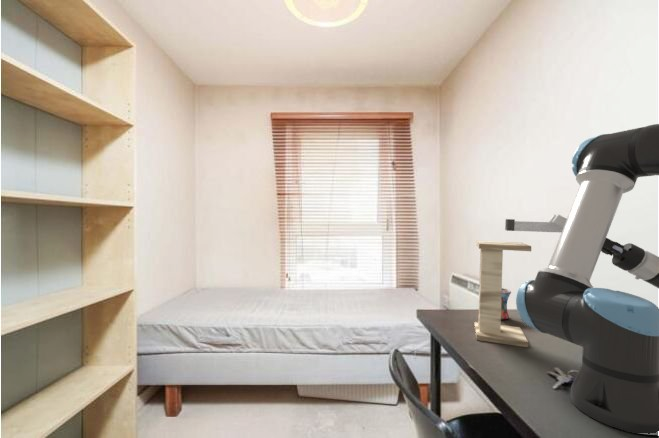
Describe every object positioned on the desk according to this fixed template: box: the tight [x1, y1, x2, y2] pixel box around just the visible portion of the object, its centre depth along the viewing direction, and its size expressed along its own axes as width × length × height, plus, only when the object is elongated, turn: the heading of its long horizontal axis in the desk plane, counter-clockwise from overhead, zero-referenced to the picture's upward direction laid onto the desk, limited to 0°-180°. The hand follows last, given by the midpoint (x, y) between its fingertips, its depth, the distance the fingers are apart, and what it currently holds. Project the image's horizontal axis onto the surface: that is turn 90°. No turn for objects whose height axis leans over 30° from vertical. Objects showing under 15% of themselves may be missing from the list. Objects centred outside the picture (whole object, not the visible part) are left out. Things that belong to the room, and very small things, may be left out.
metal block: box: [504, 218, 563, 233], centre depth 101 cm, size 22×4×4 cm, turn 69°
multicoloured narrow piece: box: [501, 287, 512, 320], centre depth 126 cm, size 12×9×11 cm
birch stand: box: [473, 240, 532, 348], centre depth 105 cm, size 14×14×30 cm
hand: (553, 218), depth 100 cm, fingers closed on metal block, 3 cm apart
